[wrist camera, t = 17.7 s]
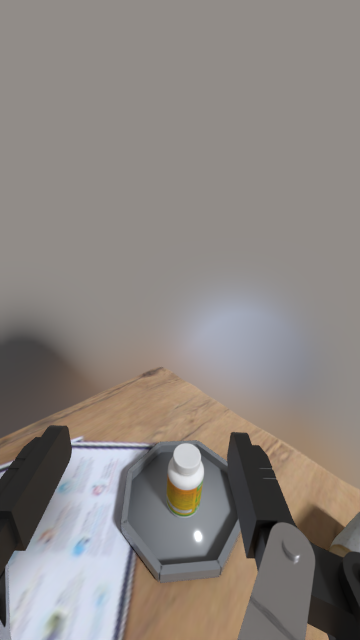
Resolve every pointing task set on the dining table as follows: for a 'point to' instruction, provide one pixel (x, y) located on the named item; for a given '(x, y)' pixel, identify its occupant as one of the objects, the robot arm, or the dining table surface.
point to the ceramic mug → (347, 538)
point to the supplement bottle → (184, 481)
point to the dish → (180, 533)
